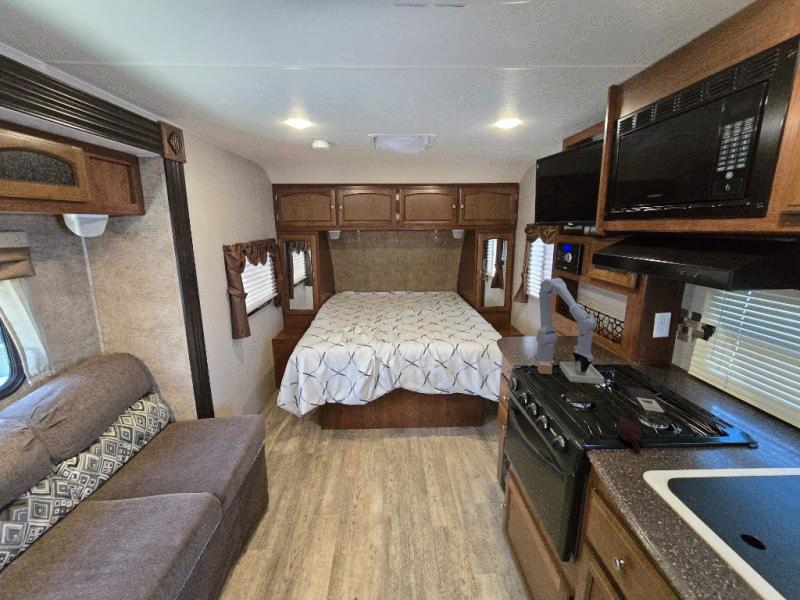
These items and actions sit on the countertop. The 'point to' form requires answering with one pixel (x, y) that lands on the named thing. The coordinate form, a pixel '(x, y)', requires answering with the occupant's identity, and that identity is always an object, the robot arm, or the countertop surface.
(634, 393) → the chocolate bar
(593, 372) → the tray
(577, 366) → the tin
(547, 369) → the carton
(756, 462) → the countertop surface
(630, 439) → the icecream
